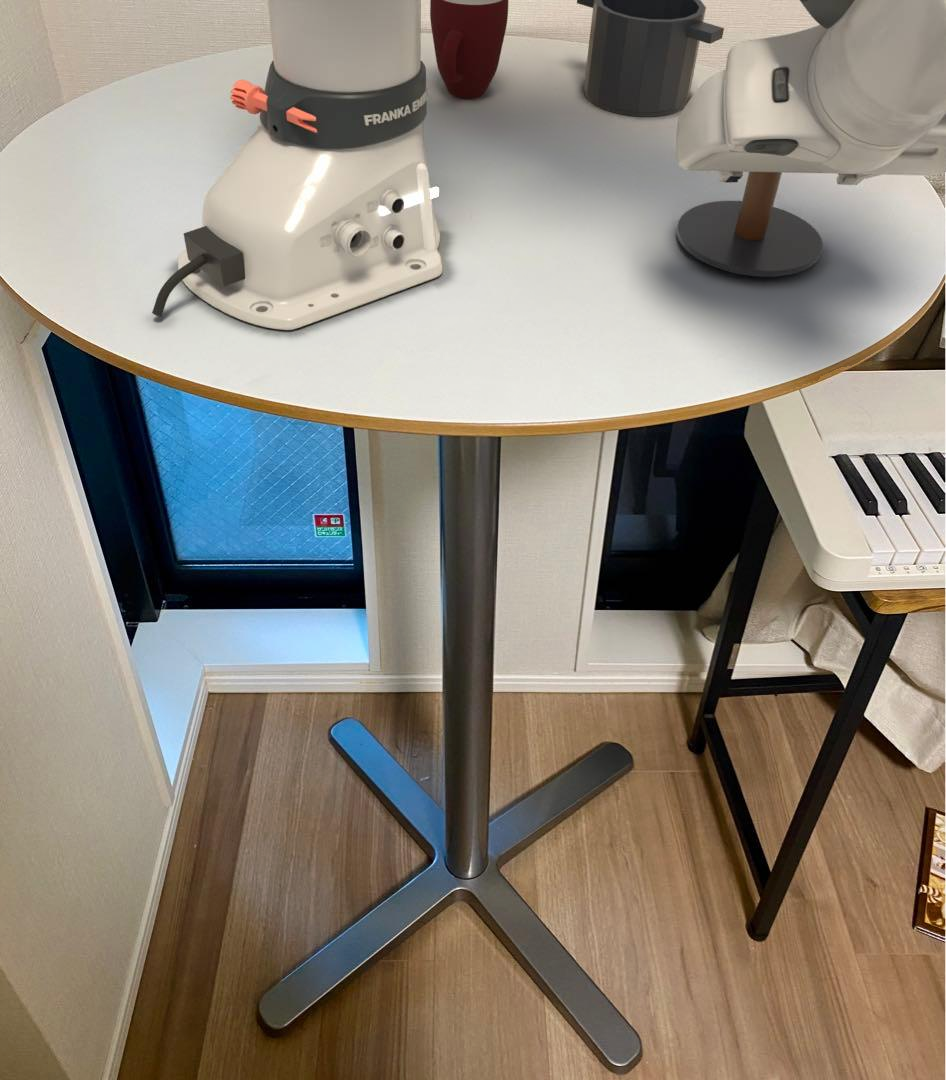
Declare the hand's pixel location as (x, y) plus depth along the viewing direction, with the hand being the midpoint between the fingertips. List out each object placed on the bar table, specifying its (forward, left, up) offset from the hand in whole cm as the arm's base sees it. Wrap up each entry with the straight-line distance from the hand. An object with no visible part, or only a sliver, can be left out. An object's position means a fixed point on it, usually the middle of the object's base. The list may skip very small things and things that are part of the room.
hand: (786, 174), depth 77 cm
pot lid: (+3, +3, -8) cm, 9 cm away
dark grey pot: (+24, +29, -9) cm, 39 cm away
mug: (+10, +42, -9) cm, 44 cm away
